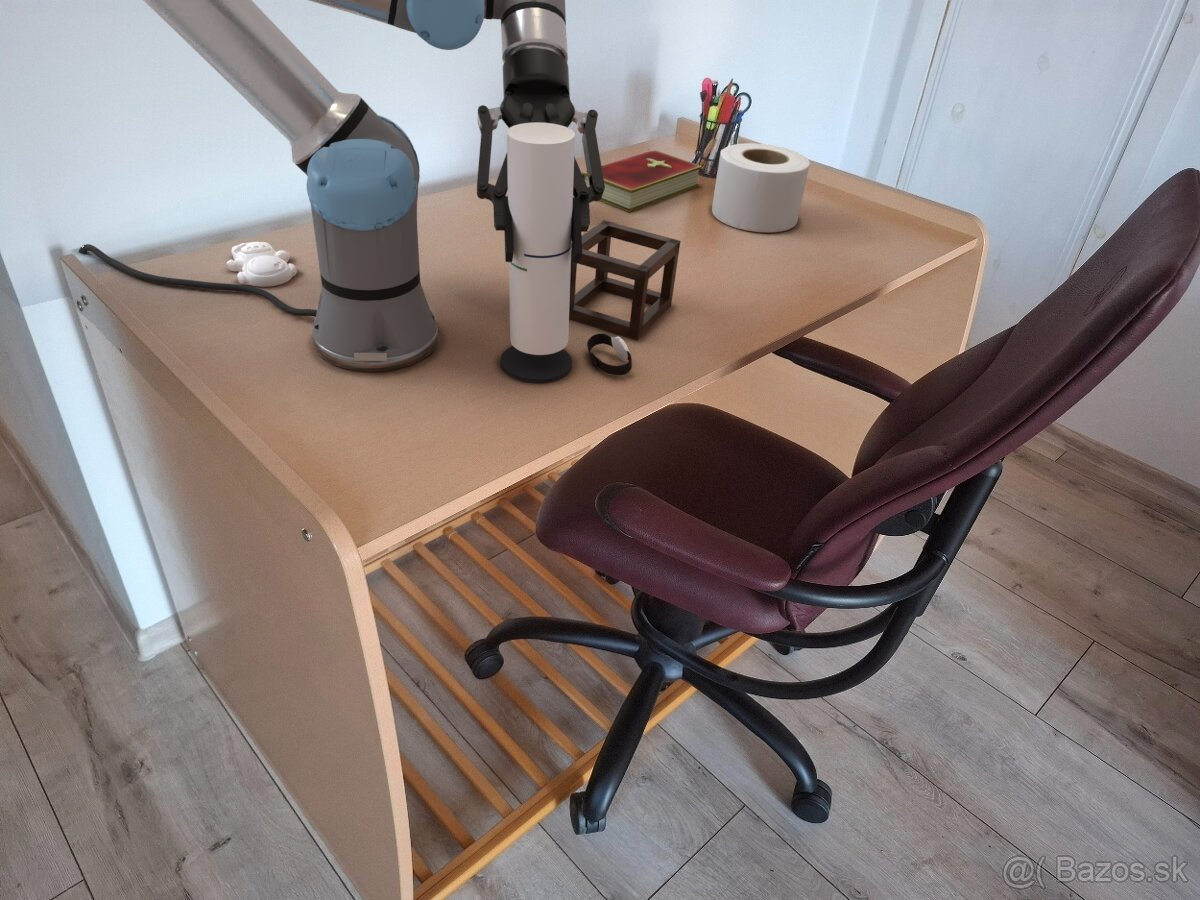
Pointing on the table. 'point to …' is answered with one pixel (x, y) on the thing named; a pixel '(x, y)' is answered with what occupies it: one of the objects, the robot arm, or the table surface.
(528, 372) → the coaster
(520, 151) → the cylindrical container
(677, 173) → the hardcover book
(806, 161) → the white paper roll
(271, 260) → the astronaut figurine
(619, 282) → the rack
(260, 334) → the table surface
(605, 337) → the watch
